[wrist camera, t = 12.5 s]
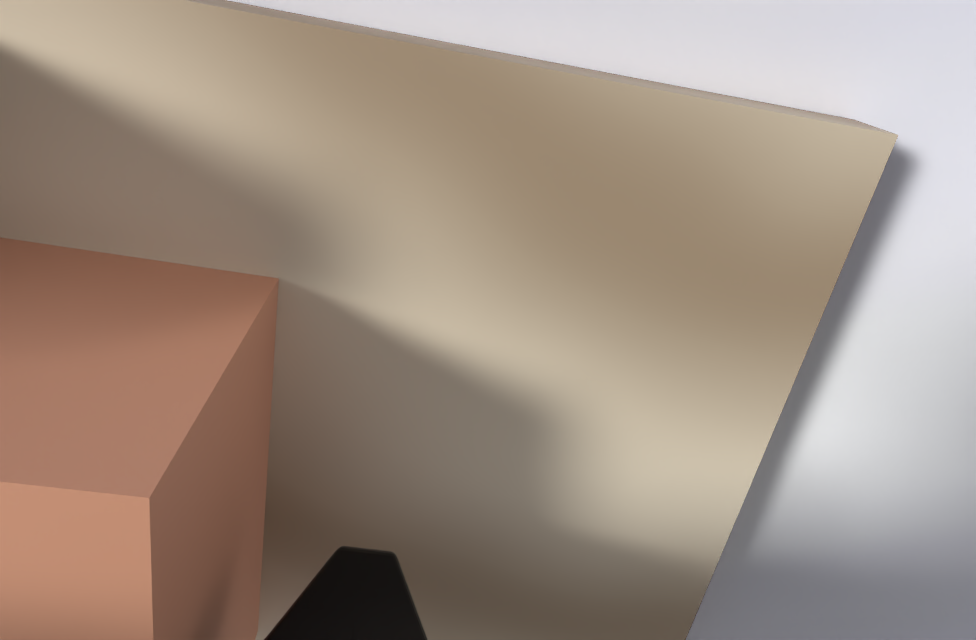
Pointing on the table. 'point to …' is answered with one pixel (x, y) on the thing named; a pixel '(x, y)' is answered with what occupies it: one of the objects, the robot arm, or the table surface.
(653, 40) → the table surface
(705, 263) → the shelf
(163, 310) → the pink rectangular block
